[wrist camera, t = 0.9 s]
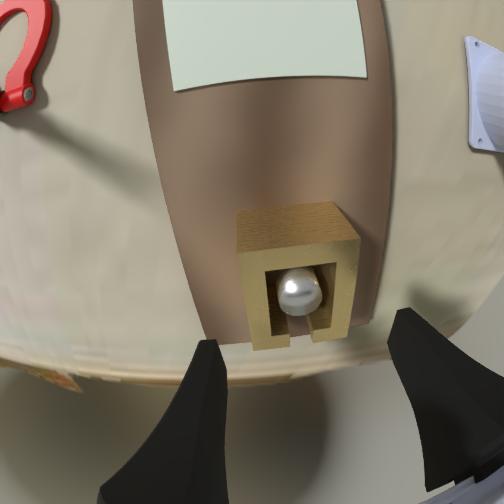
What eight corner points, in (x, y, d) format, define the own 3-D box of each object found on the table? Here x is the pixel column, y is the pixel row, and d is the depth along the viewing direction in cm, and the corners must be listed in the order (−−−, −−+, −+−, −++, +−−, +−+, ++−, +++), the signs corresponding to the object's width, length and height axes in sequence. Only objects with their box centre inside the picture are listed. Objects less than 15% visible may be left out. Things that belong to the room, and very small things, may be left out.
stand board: (351, -65, 6) (358, -73, 5) (364, 312, 20) (368, 323, 19) (137, -53, 6) (131, -61, 5) (210, 333, 20) (208, 345, 19)
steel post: (305, 237, 15) (323, 279, 12) (306, 267, 16) (321, 312, 13) (269, 241, 15) (277, 285, 12) (272, 271, 16) (280, 318, 13)
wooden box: (332, 201, 14) (360, 238, 11) (328, 290, 17) (346, 336, 14) (236, 211, 14) (236, 253, 11) (250, 300, 17) (253, 350, 14)
